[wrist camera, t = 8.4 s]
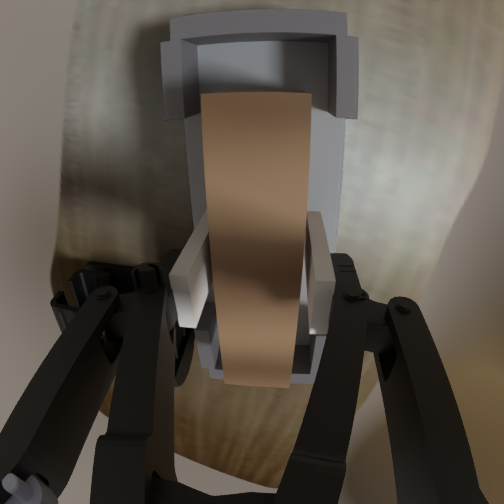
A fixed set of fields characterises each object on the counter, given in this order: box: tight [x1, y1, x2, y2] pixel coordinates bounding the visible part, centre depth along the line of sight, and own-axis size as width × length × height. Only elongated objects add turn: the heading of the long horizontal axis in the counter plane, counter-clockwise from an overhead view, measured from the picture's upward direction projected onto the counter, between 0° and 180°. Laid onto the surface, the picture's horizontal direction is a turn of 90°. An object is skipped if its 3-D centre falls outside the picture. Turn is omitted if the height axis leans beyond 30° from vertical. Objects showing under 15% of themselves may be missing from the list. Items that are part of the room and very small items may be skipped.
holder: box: [160, 9, 359, 384], centre depth 18 cm, size 24×9×4 cm, turn 1°
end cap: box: [50, 262, 195, 387], centre depth 22 cm, size 10×7×7 cm
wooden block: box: [201, 90, 312, 388], centre depth 17 cm, size 16×4×6 cm, turn 1°
